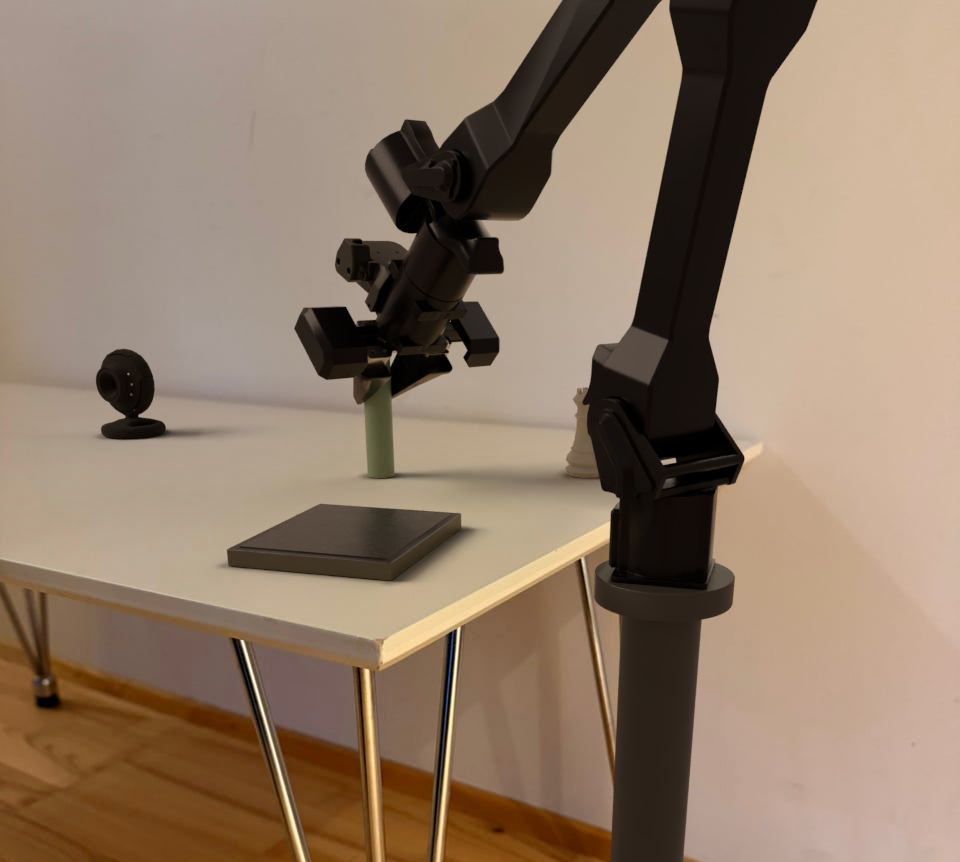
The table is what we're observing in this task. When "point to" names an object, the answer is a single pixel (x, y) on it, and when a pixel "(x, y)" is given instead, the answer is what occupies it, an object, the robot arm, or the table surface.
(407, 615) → the table surface
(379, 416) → the green cylinder
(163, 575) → the table surface
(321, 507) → the plate
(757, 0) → the robot arm
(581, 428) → the rook chess piece
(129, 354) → the webcam
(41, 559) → the table surface
